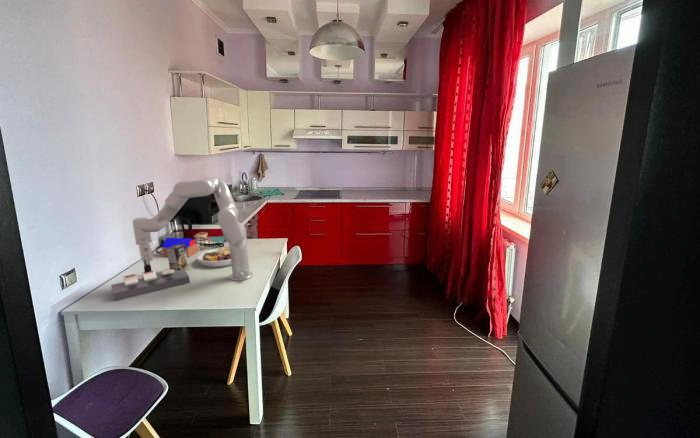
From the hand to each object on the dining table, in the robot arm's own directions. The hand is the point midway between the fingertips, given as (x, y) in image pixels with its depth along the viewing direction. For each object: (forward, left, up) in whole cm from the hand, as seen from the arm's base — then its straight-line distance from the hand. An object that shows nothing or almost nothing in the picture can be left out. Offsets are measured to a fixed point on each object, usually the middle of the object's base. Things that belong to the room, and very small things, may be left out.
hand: (148, 272), depth 205 cm
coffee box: (+10, -17, -7) cm, 21 cm away
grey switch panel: (-6, 0, -7) cm, 9 cm away
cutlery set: (+58, -49, -8) cm, 76 cm away
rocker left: (-4, +9, -2) cm, 10 cm away
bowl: (+14, -44, -8) cm, 47 cm away
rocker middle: (-4, 0, -2) cm, 4 cm away
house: (+47, -25, -7) cm, 54 cm away
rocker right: (-4, -9, -2) cm, 10 cm away
